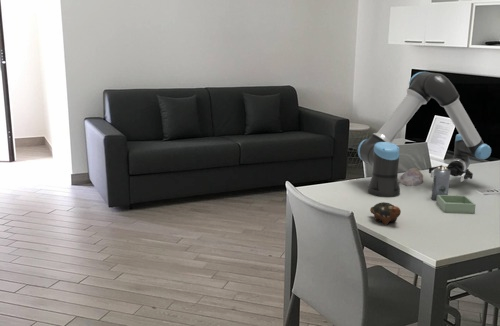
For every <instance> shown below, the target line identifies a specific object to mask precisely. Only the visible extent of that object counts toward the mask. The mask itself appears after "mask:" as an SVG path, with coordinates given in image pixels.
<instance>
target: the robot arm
mask: <svg viewBox="0 0 500 326" xmlns="http://www.w3.org/2000/svg"><path fill="white" fill-rule="evenodd" d="M431 99H434V100H435V101H436V102H437V103H438V104H439V106H440V107H442V108H444V110H445V112H446V114H447V115H448V117H449V119H450V120H451V122H452V123H453V125H454V127H455V128H456V131H457V132H458V134H456V135H455V140H454V149H453V152H454V153H453V159H452V161H451V162H450V163H448V164H447V166H445V167H446V168H447V169H449V170H451V172H450V176H452V177H458V176H459V177H460V183H461V182H463V181H465V180H468V179H469V180H473V175H474V173H473V172H472V171H470V169H469V167H470V165H471V162H470V161H471V160H470V156H471V157H472V158H473V157H474V158H476V159H480V160H486V159H488V158H489V157H490V156H491V153H492V147H490V145H488V144H487V143H484V141H483V140H482V137H481V136H480V134H479V132H478V131H477V128H475V125H474V124H473V122H472V120H471V118H470V116H469V114H468V113H467V111H466V110H465V108H464V106H463V104H462V103H461V101H460V94H459V92H458V91H457V89H456V87H455V85H454V84H453V83H452V82H451V81H450V79H449V78H447V77H446V76H445V75H444V74H441V73H435V72H429V71H419V72H416V73H415V74H413V75H412V77H411V78H410V79H409V83H408V87H407V89H406V96H405V97H404V98H403V99H402V101H401V102H400V103H399V104H398V106H397V107H396V108H395V109H394V111H393V112H392V113H391V115H390V116H389V118H387V120H386V121H385V122H384V124H383V125H382V126H381V128H380V129H379V130H378V131H377V132H374V133H372V134H371V135H370V137H369V138H366V139H363V140H362V141H361V142H360V143H359V144H358V146H357V154H358V155H357V156H358V157H359V159H360V160H361V161H363V162H364V163H365V164H367V165H370V166H372V173H371V178H370V180H369V183H368V185H367V189H366V190H367V191H366V192H367V193H368V194H370V195H372V196H376V197H384V198H391V197H393V198H394V197H398V196H399V195H400V194H401V188H400V183H399V179H398V173H399V162H400V147H399V146H398V145H397V144H395V143H393V142H394V140H396V138H397V137H398V136H399V134H400V133H401V132H402V131H403V129H404V128H405V127H406V125H407V124H408V122H409V121H410V120H411V119H412V118H413V116H414V115H415V113H416V112H418V110H419V109H420V107H421V106H422V105H427V103H428V102H429V101H430V100H431ZM442 166H443V165H442V164H441V165H438V166H432V167H431V166H430V167H428V173H429V174H430V178H433V177H434V169H435V168H437V167H440V168H441V167H442Z"/></svg>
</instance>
